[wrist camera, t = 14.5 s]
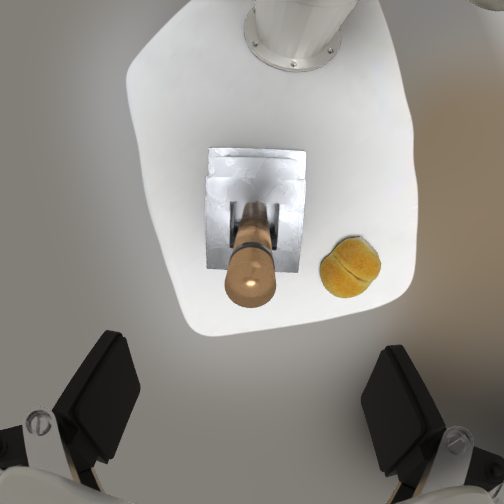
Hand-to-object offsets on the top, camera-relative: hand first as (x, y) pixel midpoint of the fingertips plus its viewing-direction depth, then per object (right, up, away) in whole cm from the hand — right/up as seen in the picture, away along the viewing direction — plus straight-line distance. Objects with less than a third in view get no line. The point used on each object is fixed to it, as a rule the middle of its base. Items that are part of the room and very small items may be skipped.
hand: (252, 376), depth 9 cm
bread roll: (+14, +3, +29) cm, 33 cm away
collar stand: (0, +10, +27) cm, 28 cm away
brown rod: (0, +9, +26) cm, 27 cm away
